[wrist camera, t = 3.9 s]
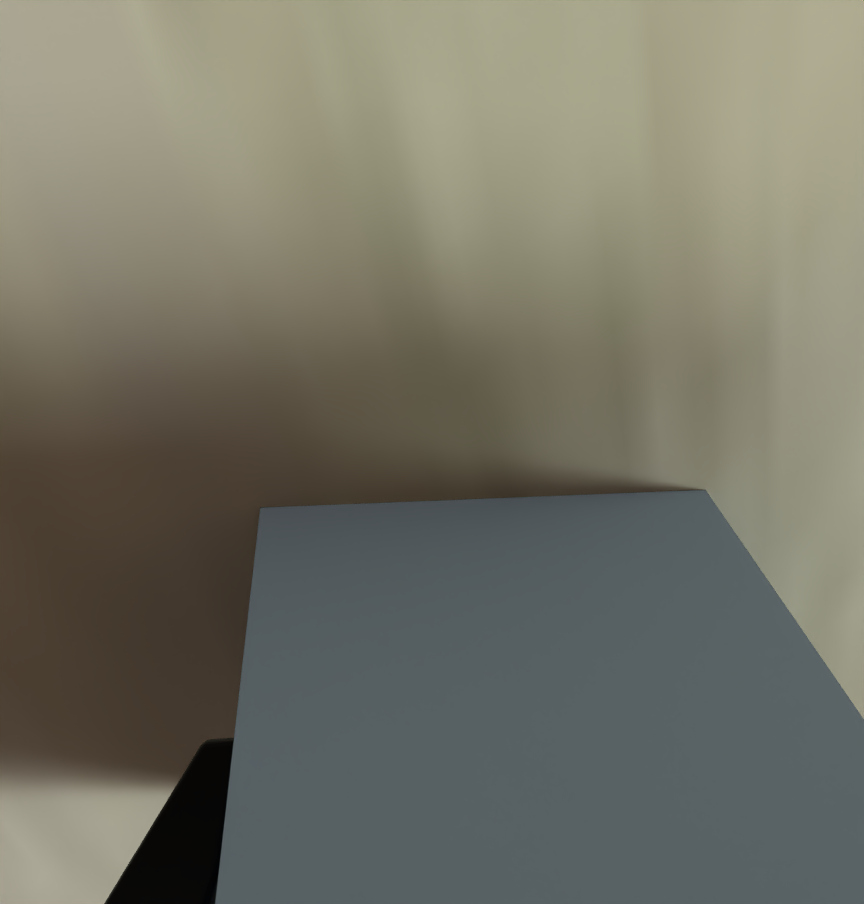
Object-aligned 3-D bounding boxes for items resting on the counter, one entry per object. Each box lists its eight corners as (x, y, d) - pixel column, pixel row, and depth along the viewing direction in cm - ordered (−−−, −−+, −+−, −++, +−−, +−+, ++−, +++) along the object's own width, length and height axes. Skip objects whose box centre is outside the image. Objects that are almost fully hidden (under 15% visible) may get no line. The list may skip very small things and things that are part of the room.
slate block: (703, 487, 9) (1163, 1154, 4) (630, 762, 12) (855, 1369, 7) (260, 504, 9) (169, 1305, 4) (290, 789, 11) (261, 1471, 6)
